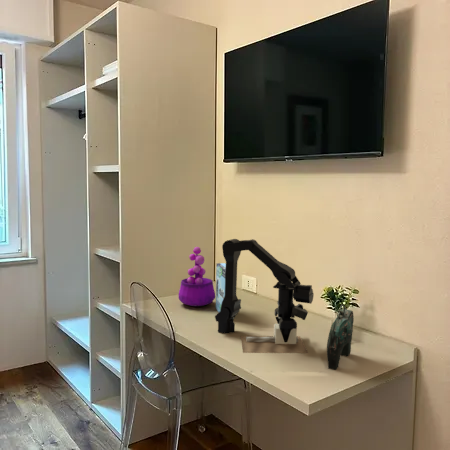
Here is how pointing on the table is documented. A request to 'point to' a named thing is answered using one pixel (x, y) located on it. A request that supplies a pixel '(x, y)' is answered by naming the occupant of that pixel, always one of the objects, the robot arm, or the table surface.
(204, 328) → the table surface
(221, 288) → the gum box
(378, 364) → the table surface
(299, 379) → the table surface
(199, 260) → the decorative plant
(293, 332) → the notched block
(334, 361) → the dark green upright piece
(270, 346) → the cleat board
